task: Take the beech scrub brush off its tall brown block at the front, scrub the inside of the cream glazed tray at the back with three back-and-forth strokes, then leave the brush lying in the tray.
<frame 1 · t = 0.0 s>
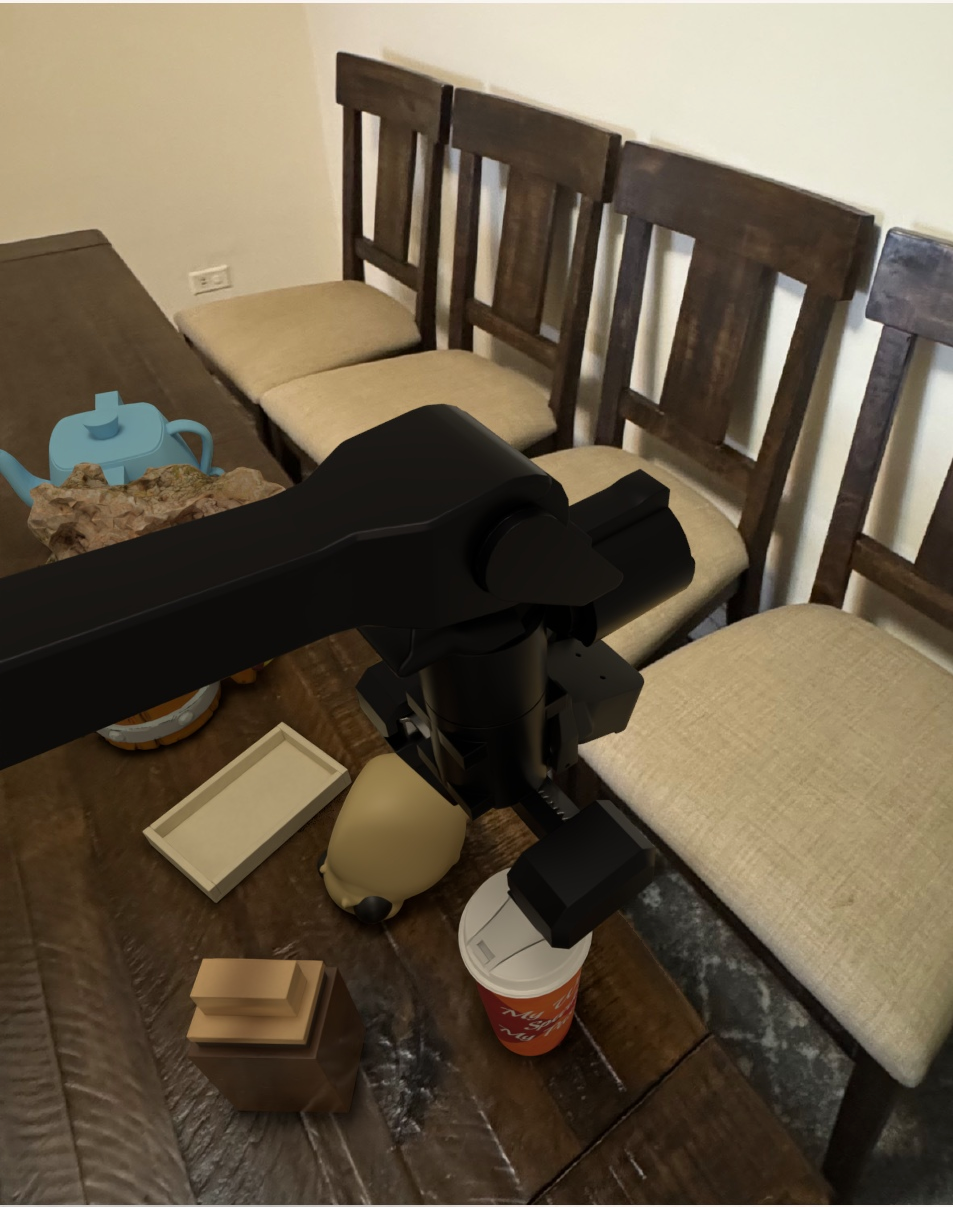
hand: (503, 853, 48), 15 cm above the table, tool pointing down, fingers open, 9 cm apart
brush: (265, 1009, 47), point 10 cm above the table, touching brown block
tan animal figurine: (402, 865, 64), on the table
paper cup: (533, 1012, 57), on the table
decorative sign: (329, 550, 88), point 1 cm above the table, touching rock
tray: (254, 812, 67), on the table
rock: (219, 596, 82), point 2 cm above the table, touching decorative sign, teapot
teapot: (136, 535, 91), on the table, touching rock
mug: (191, 699, 75), on the table
brown block: (304, 1068, 54), on the table
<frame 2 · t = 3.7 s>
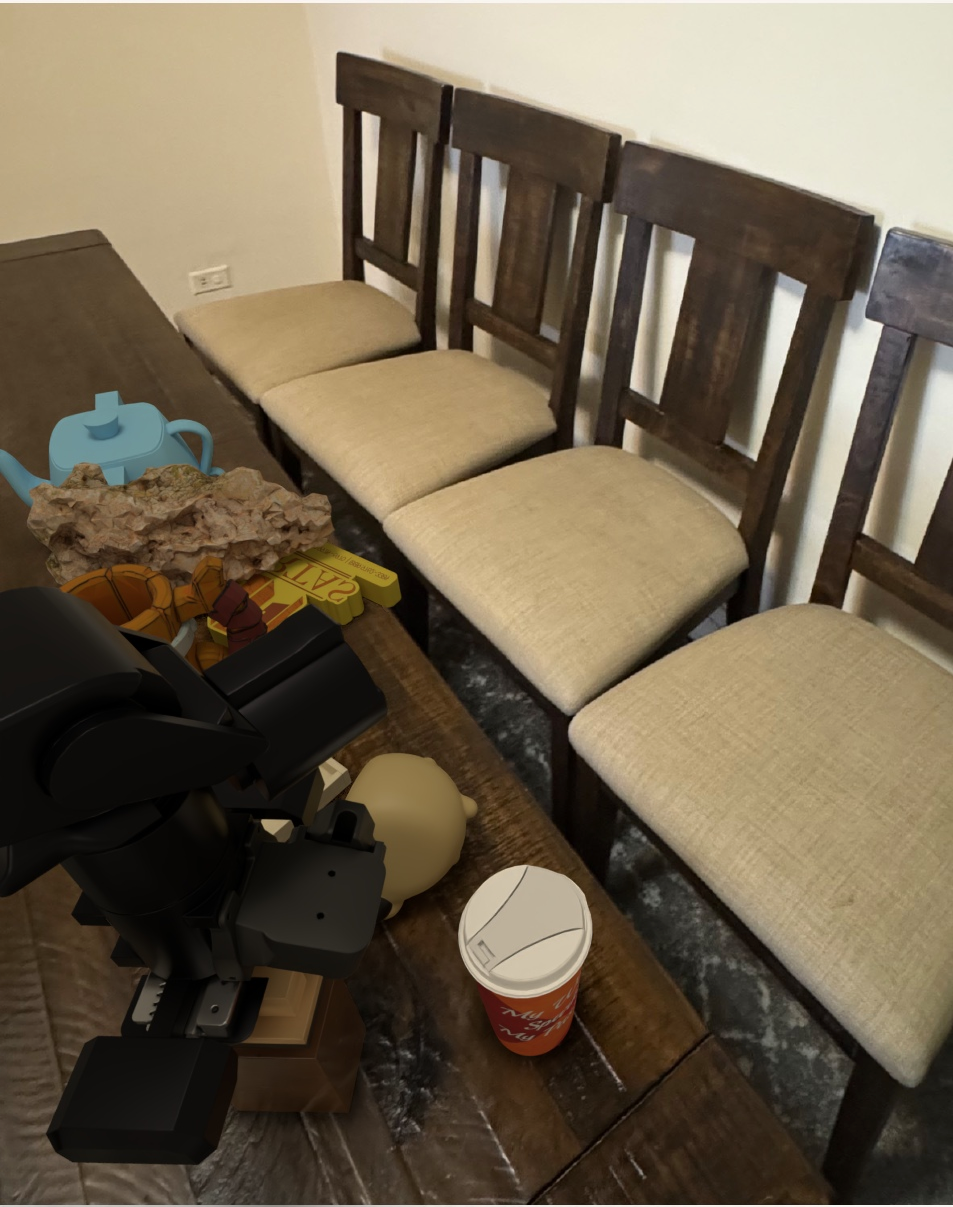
hand: (255, 995, 45), 12 cm above the table, tool pointing down, fingers closed on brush, 2 cm apart
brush: (265, 1009, 47), point 10 cm above the table, touching brown block, gripper
everything else where it was.
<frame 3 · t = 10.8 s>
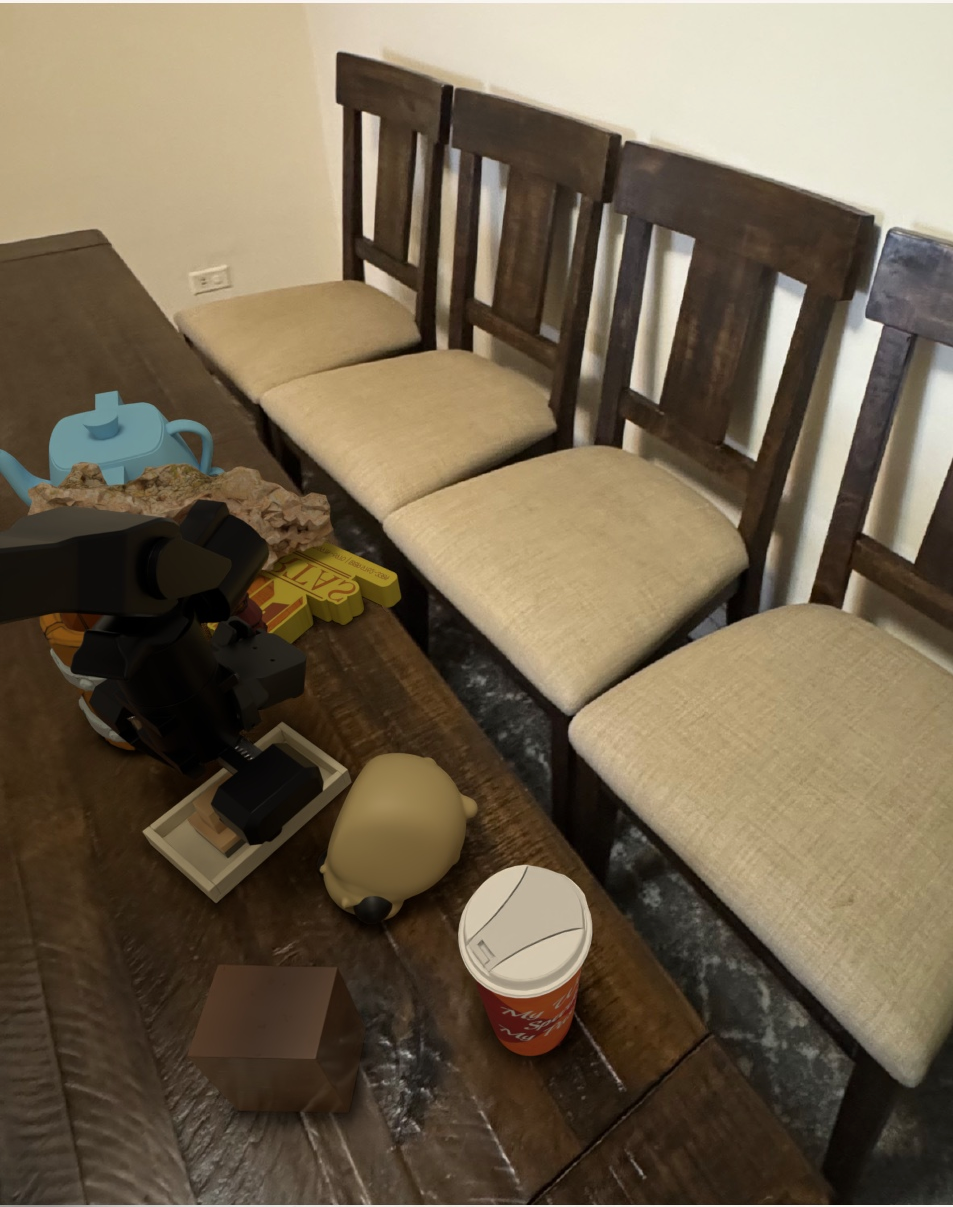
hand: (236, 804, 65), 2 cm above the table, tool pointing down, fingers open, 9 cm apart
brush: (244, 817, 66), resting on tray
everything else where it was.
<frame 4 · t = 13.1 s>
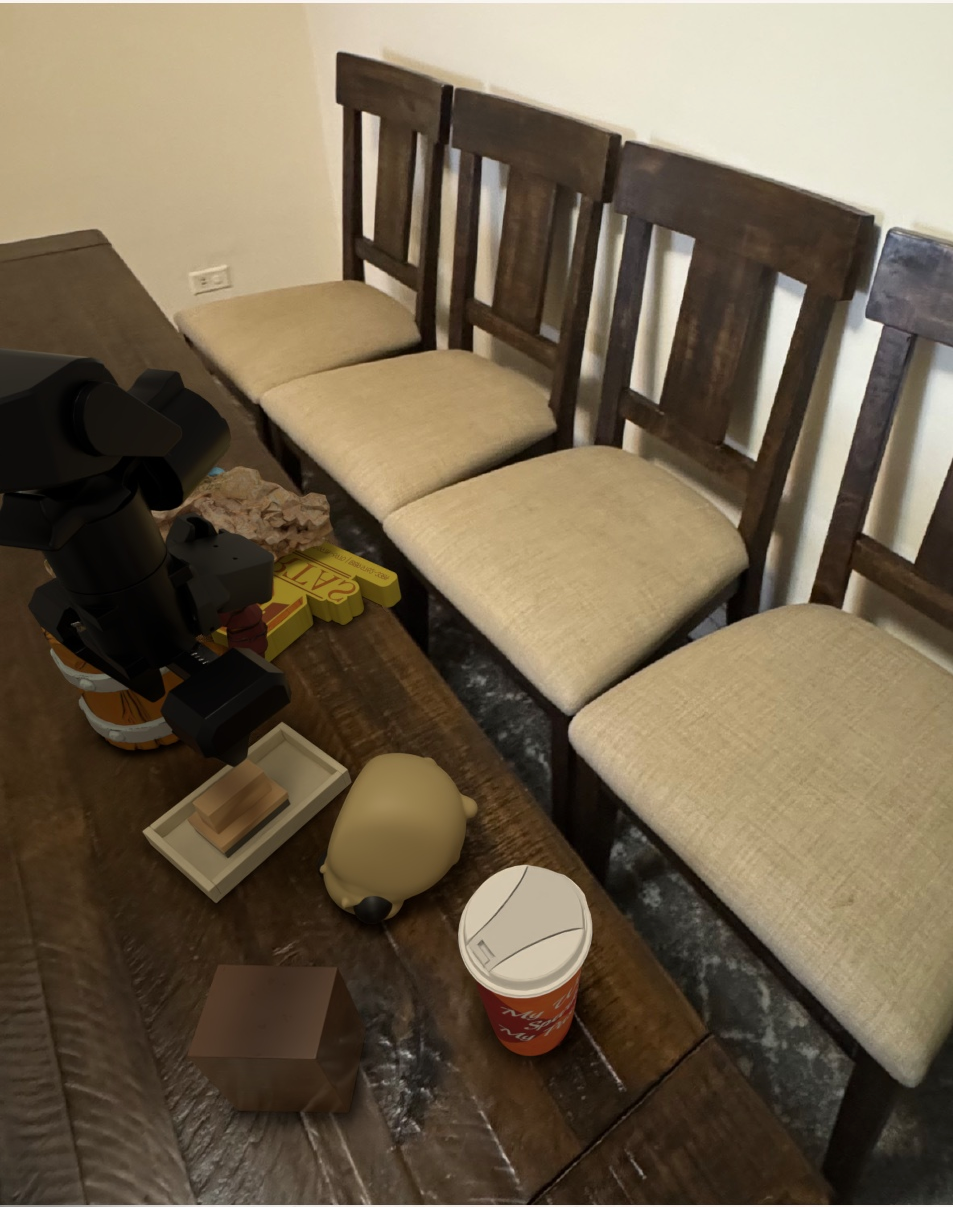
hand: (197, 728, 58), 12 cm above the table, tool pointing down, fingers open, 9 cm apart
nothing on the table moved.
at the end: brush 0.9 cm off-centre in the tray, point 0.4 cm above the tray's base; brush tilted 0°; the gripper is holding nothing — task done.
